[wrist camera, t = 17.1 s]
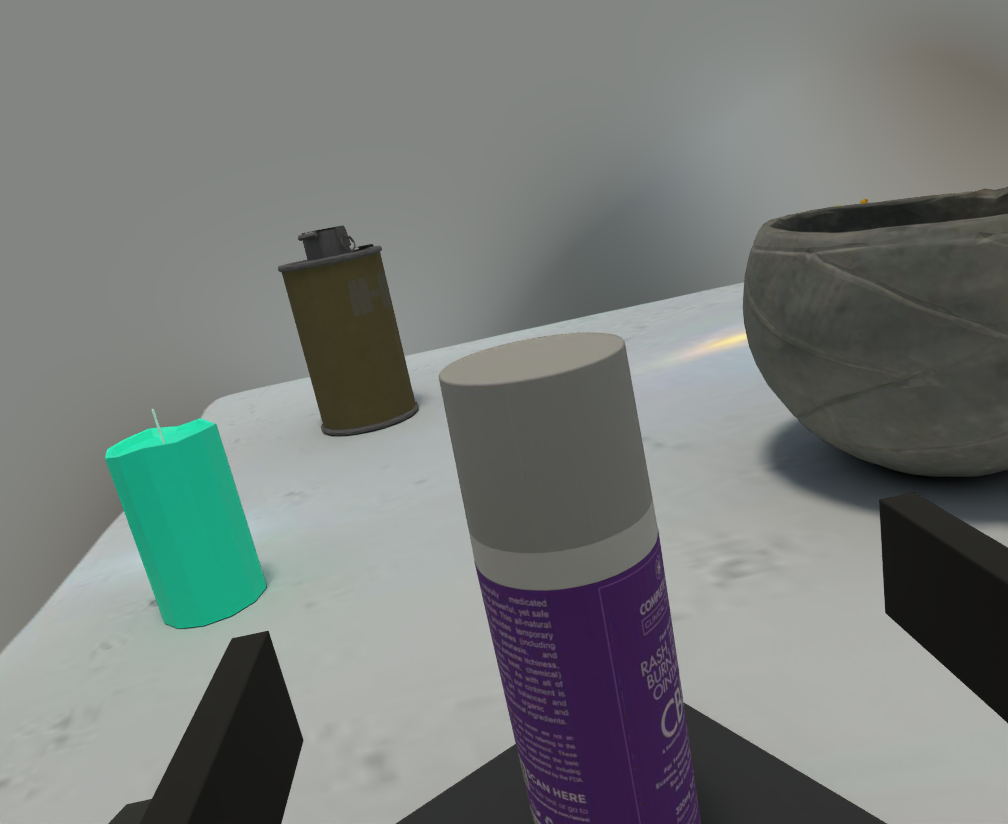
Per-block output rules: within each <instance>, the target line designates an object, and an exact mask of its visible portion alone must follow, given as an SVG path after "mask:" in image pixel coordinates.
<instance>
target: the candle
mask: <svg viewBox="0 0 1008 824" xmlns="http://www.w3.org/2000/svg"><path fill="white" fill-rule="evenodd" d="M151 411H152V414H153V417H154V420H155V423H156V426H157V428H150V429H147V430H144V431H142V432H140V433H138V434H135V435H133V436H131V437H129V438H126V439H124V440H122V441H121V442H119V443H117V444H116V445H114V446H112V447H110V448H109V449H107V453H106V457H105V459H106V462H107V465H108V468H109V470H110V473H111V476H112V478H113V481H114V484H115V487H116V490H117V493H118V495H119V498H120V501H121V504H122V506H123V509H124V512H125V515H126V517H127V520H128V523H129V526H130V529H131V531H132V534H133V537H134V540H135V542H136V545H137V548H138V551H139V553H140V556H141V559H142V562H143V565H144V567H145V570H146V573H147V576H148V578H149V581H150V584H151V587H152V589H153V592H154V595H155V598H156V601H157V603H158V606H159V609H160V612H161V614H162V617H163V620H164V623H166V624H168V625H171V626H173V627H176V628H178V629H179V628H189V627H198V626H205V625H207V624H210V623H213V622H216V621H219V620H221V619H224V618H227V617H230V616H232V615H234V614H236V613H237V612H239V611H241V610H242V609H244V608H245V607H247V606H249V605H250V604H252V603H253V602H255V601H256V600H257V599H258V597H259V596H260V595H261V594H262V592H263V591H264V590H265V589H266V588H267V587H266V583H265V578H264V575H263V572H262V569H261V565H260V562H259V559H258V556H257V553H256V549H255V546H254V543H253V540H252V537H251V533H250V530H249V527H248V524H247V521H246V517H245V514H244V511H243V508H242V505H241V501H240V498H239V495H238V492H237V489H236V485H235V482H234V479H233V476H232V473H231V469H230V466H229V463H228V460H227V457H226V453H225V450H224V447H223V444H222V441H221V437H220V434H219V431H218V428H217V425H216V424H214V423H212V422H209V421H206V420H204V419H201V418H200V419H197V420H195V421H192V422H189V423H186V424H183V425H180V426H174V427H163V428H162V427H161V428H160V426H159V423H158V420H157V417H156V414H155V411H154V409H152V410H151Z"/></svg>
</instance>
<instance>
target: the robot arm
mask: <svg viewBox="0 0 1008 824" xmlns="http://www.w3.org/2000/svg"><path fill="white" fill-rule="evenodd" d="M879 505H880V523H881V542H882V560H883V578H884V597H885V613H886V614H887V615H888V616H889V617H890V618H892V619H893V620H894V621H895V622H896V623H897V624H898V625H899V626H900V627H902V628H903V629H904V630H905V631H906V632H907V633H908V634H909V635H911V636H912V637H913V638H914V639H915V640H916V641H917V642H918V643H919V644H921V645H922V646H923V647H924V648H925V649H926V650H927V651H928V652H929V653H931V654H932V655H933V656H934V657H935V658H936V659H937V660H938V661H939V662H941V663H942V664H943V665H944V666H945V667H946V668H947V669H948V670H949V671H951V672H952V673H953V674H954V675H955V676H956V677H957V678H958V679H959V680H961V681H962V682H963V683H964V684H965V685H966V686H967V687H968V688H969V689H971V690H972V691H973V692H974V693H975V694H976V695H977V696H978V697H979V698H981V699H982V700H983V701H984V702H985V703H986V704H987V705H988V706H989V707H991V708H992V709H993V710H994V711H995V712H996V713H997V714H998V715H999V716H1001V717H1002V718H1003V719H1004V720H1005V721H1006V722H1007V723H1008V548H1007V547H1006V546H1004V545H1002V544H1001V543H999V542H997V541H996V540H994V539H992V538H990V537H989V536H987V535H985V534H984V533H982V532H980V531H979V530H977V529H975V528H973V527H972V526H970V525H968V524H967V523H965V522H963V521H962V520H960V519H958V518H957V517H955V516H953V515H951V514H950V513H948V512H946V511H945V510H943V509H941V508H940V507H938V506H936V505H934V504H933V503H931V502H929V501H928V500H926V499H924V498H923V497H921V496H919V495H917V494H916V493H909V494H904V495H900V496H895V497H890V498H886V499H881V500H879ZM302 744H303V737H302V734H301V731H300V728H299V725H298V722H297V719H296V715H295V712H294V709H293V706H292V703H291V700H290V697H289V694H288V690H287V687H286V684H285V681H284V678H283V675H282V672H281V669H280V665H279V662H278V659H277V656H276V653H275V650H274V647H273V644H272V640H271V637H270V634H269V631H265V632H260V633H256V634H251V635H246V636H242V637H237V638H232V639H231V641H230V643H229V645H228V647H227V649H226V651H225V653H224V655H223V657H222V659H221V661H220V663H219V665H218V667H217V669H216V671H215V673H214V675H213V677H212V679H211V681H210V683H209V686H208V688H207V690H206V692H205V694H204V696H203V698H202V700H201V702H200V704H199V706H198V708H197V710H196V712H195V714H194V716H193V718H192V720H191V722H190V724H189V726H188V728H187V730H186V732H185V734H184V736H183V738H182V740H181V742H180V744H179V746H178V748H177V750H176V752H175V754H174V756H173V758H172V760H171V762H170V764H169V766H168V768H167V770H166V772H165V774H164V776H163V778H162V780H161V782H160V784H159V786H158V788H157V790H156V792H155V794H154V796H153V798H152V799H150V800H145V801H140V802H136V803H131V804H127V805H126V806H125V807H124V808H123V809H122V810H121V811H120V812H119V813H118V814H117V815H116V816H115V817H114V818H113V819H112V820H111V822H110V823H109V824H281V823H282V819H283V815H284V811H285V807H286V804H287V800H288V796H289V792H290V789H291V785H292V781H293V777H294V774H295V770H296V766H297V762H298V759H299V755H300V751H301V747H302Z"/></svg>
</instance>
